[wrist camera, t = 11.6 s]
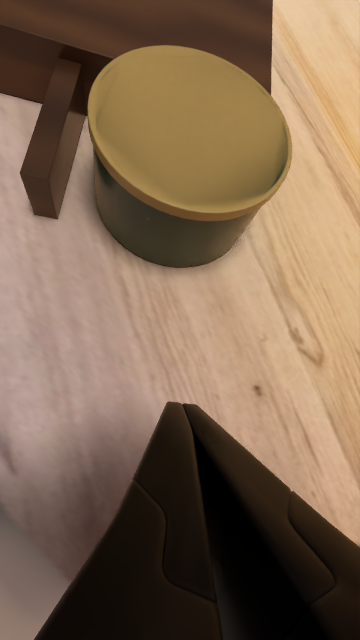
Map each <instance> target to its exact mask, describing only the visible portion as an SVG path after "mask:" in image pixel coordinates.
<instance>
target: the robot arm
mask: <svg viewBox="0 0 360 640" xmlns="http://www.w3.org/2000/svg"><path fill="white" fill-rule="evenodd" d="M34 640H360V547H359V546H357V545H356V544H355V543H354V542H353V541H351V540H350V539H349V538H348V537H346V536H345V535H344V534H343V533H341V532H340V531H339V530H338V529H337V528H335V527H334V526H333V525H332V524H330V523H329V522H328V521H327V520H326V519H325V518H323V517H322V516H321V515H320V514H319V513H318V512H316V511H315V510H314V509H313V508H312V507H311V506H310V505H308V504H307V503H306V502H305V501H304V500H303V499H302V498H301V497H299V496H298V495H297V494H296V493H295V492H294V491H292V492H291V490H290V488H289V487H288V486H286V485H285V484H284V483H283V482H282V481H281V480H280V479H279V478H278V477H276V476H275V475H274V474H273V473H272V472H271V471H270V470H269V469H268V468H266V467H265V466H264V465H263V464H262V463H261V462H260V461H259V460H258V459H256V458H255V457H254V456H253V455H252V454H251V453H250V452H249V451H248V450H246V449H245V448H244V447H243V446H242V445H241V444H240V443H239V442H238V441H236V440H235V439H234V438H233V437H232V436H231V435H230V434H229V433H227V432H226V431H225V430H224V429H223V428H222V427H221V426H220V425H219V424H217V423H216V422H215V421H214V420H213V419H212V418H211V417H210V416H209V415H207V414H206V413H205V412H204V411H203V410H202V409H201V408H200V407H199V406H197V405H195V404H186V403H184V404H181V403H178V402H167V403H166V405H165V408H164V410H163V412H162V414H161V416H160V419H159V421H158V423H157V425H156V428H155V430H154V432H153V434H152V436H151V439H150V441H149V443H148V445H147V448H146V450H145V452H144V454H143V456H142V459H141V461H140V463H139V465H138V468H137V470H136V472H135V474H134V476H133V479H132V481H131V482H130V485H129V487H128V489H127V491H126V494H125V496H124V498H123V500H122V502H121V503H120V505H119V507H118V509H117V511H116V513H115V515H114V517H113V518H112V520H111V522H110V523H109V525H108V527H107V528H106V530H105V532H104V533H103V535H102V537H101V538H100V540H99V541H98V543H97V544H96V546H95V547H94V549H93V550H92V552H91V554H90V555H89V557H88V558H87V560H86V561H85V563H84V564H83V566H82V567H81V569H80V570H79V572H78V573H77V575H76V576H75V578H74V579H73V581H72V582H71V584H70V586H69V587H68V589H67V590H66V592H65V593H64V595H63V596H62V598H61V599H60V601H59V602H58V604H57V605H56V607H55V608H54V610H53V611H52V613H51V615H50V616H49V618H48V619H47V621H46V622H45V624H44V625H43V627H42V628H41V630H40V631H39V633H38V634H37V636H36V637H35V639H34Z"/></svg>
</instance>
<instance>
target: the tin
mask: <svg viewBox="0 0 360 640" xmlns="http://www.w3.org/2000/svg"><path fill="white" fill-rule="evenodd" d="M87 107H88V127H89V132H90V137H91V141H92V143H93V152H94V171H95V191H96V202H97V207H98V210H99V213H100V216H101V218H102V220H103V222H104V224H105V225H106V227H107V228H108V230H109V231H110V233H111V234H112V235H113V236H114V237H115V238H116V239H117V240H118V241H119V242H120V243H121V244H122V245H123V246H124V247H126V248H127V249H128V250H130V251H131V252H133V253H134V254H136V255H138V256H140V257H142V258H144V259H146V260H148V261H151V262H154V263H156V264H161V265H165V266H172V267H192V266H198V265H202V264H206V263H208V262H211V261H213V260H215V259H217V258H219V257H220V256H222V255H223V254H225V253H226V252H227V251H228V250H229V249H230V248H231V247H232V246H233V245H234V244H235V242H236V241H237V240H238V238H239V237H240V236H241V234H242V233H243V231H244V230H245V229H246V227H247V226H248V224H249V223H250V222H251V220H252V219H253V218H254V216H255V215H256V213H257V212H258V211H259V209H260V208H261V207H262V205H264V204H265V203H266V202H267V201H269V200H270V198H271V197H272V196H273V195H274V194H275V193H276V191H277V190H278V189H279V187H280V186H281V184H282V183H283V181H284V180H285V178H286V176H287V173H288V171H289V168H290V164H291V159H292V142H291V135H290V131H289V128H288V125H287V122H286V120H285V117H284V116H283V114H282V112H281V110H280V108H279V107H278V105H277V104H276V102H275V101H274V99H273V98H272V97H271V96H270V94H269V93H268V92H267V91H266V90H265V89H264V88H263V87H262V86H261V85H260V84H259V83H258V82H257V81H256V80H255V79H253V78H252V77H251V76H250V75H249V74H247V73H246V72H244V71H243V70H241V69H240V68H238V67H237V66H235V65H233V64H232V63H230V62H228V61H226V60H224V59H222V58H220V57H217V56H215V55H212V54H210V53H207V52H204V51H200V50H197V49H193V48H187V47H181V46H170V45H160V46H149V47H143V48H139V49H135V50H132V51H130V52H127V53H125V54H122V55H121V56H119V57H117V58H116V59H114V60H112V61H111V62H110V63H109V64H108V65H107V66H105V67H104V68H103V70H102V71H101V72H100V73H99V74H98V76H97V78H96V79H95V81H94V83H93V85H92V88H91V91H90V94H89V99H88V106H87Z"/></svg>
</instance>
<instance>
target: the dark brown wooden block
mask: <svg viewBox="0 0 360 640" xmlns="http://www.w3.org/2000/svg"><path fill="white" fill-rule="evenodd" d="M272 7H273V0H0V92H2V93H6V94H10V95H13V96H17V97H21V98H25V99H28V100H32V101H36V102H39V103H43V105H42V108H41V111H40V114H39V117H38V120H37V123H36V126H35V129H34V132H33V135H32V138H31V141H30V144H29V147H28V150H27V153H26V156H25V159H24V162H23V165H22V168H21V171H20V175H21V178H22V181H23V184H24V186H25V189H26V192H27V195H28V198H29V201H30V203H31V206H32V209H33V212H34V214H37V215H42V216H47V217H51V218H56V219H57V218H58V215H59V211H60V208H61V204H62V200H63V197H64V193H65V189H66V185H67V182H68V178H69V174H70V171H71V167H72V163H73V159H74V156H75V152H76V148H77V145H78V141H79V137H80V133H81V130H82V126H83V122H84V118H85V115H88V107H87V106H88V99H89V94H90V91H91V88H92V85H93V83H94V81H95V79H96V78H97V76H98V74H99V73H100V72H101V71H102V70H103V68H104V67H105V66H107V65H108V64H109V63H110V62H111V61H112V60H114V59H116V58H117V57H119V56H121V55H122V54H125V53H127V52H130V51H132V50H135V49H139V48H143V47H149V46H160V45H170V46H181V47H187V48H193V49H197V50H200V51H204V52H207V53H210V54H212V55H215V56H217V57H220V58H222V59H224V60H226V61H228V62H230V63H232V64H233V65H235V66H237V67H238V68H240V69H241V70H243V71H244V72H246V73H247V74H249V75H250V76H251V77H252V78H253V79H255V80H256V81H257V82H258V83H259V84H260V85H261V86H262V87H263V88H264V89H265V90H266V91H267V92H268V93H269V94H270V96H271V60H272Z"/></svg>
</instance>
